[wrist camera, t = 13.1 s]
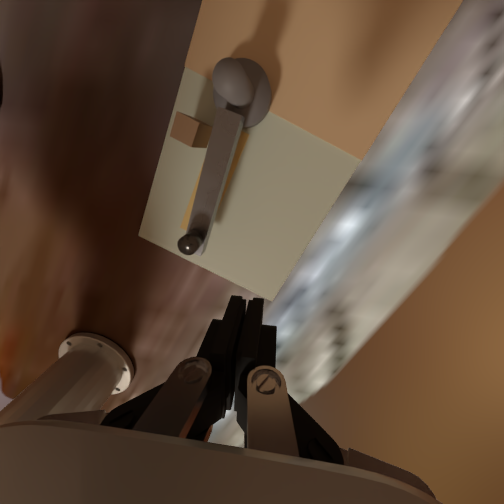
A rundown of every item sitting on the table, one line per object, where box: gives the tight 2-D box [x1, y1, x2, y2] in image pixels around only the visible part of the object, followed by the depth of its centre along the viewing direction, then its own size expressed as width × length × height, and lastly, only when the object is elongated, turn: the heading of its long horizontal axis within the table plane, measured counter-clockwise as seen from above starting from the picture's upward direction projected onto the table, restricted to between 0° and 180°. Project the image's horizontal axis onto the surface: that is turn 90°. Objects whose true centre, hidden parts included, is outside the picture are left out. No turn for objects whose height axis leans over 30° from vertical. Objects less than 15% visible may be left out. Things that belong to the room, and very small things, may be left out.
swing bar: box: [177, 106, 245, 256], centre depth 21 cm, size 13×2×4 cm, turn 160°
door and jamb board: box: [138, 0, 463, 301], centre depth 20 cm, size 34×18×8 cm, turn 155°
